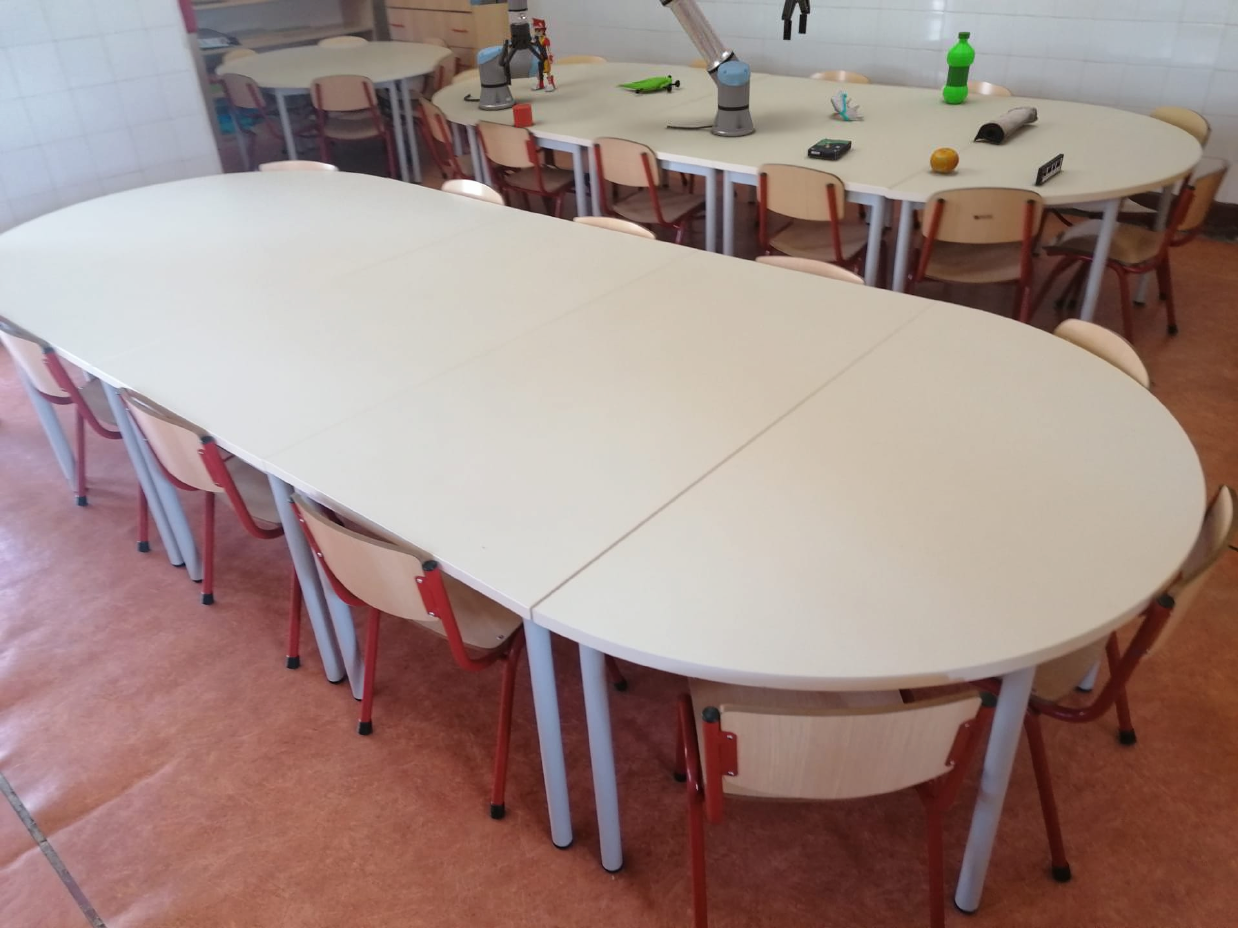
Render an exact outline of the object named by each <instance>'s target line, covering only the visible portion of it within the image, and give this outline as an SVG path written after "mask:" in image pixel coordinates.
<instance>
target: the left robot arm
mask: <svg viewBox="0 0 1238 928" xmlns="http://www.w3.org/2000/svg"><path fill="white" fill-rule="evenodd" d="M468 2H469V4H470V5H471V6H479V7H480V6H487V5H488V6H489V5H499V4H501V5H502V4H507V11H508V22H509V31H510V38H503V40H502V41H503V45H494V46H489V47H486V48H483V49H481V50H480V51H478V53H477V56H476V57H477V66H478V72H479V73H478V74H479V82H480V95H479V98H469V97H471V93H469V94H467V95H465V96H464V97H463V99H464V101H468V102H478V106H479V109H480V110H484V111H500V110H506V109H510V108H512V107H513V106H515V105H516V104H515V99H514V97H513V95H512V92H511V89H510V86H513V85H512V80H519V79H531V78H537V76H538V75H539V79H540V80H543V81H544V80H545V78H543V75H544V73H543V71H545V65H544V62H545V60H548V58H549V56H547V55H548V53H547V54H546V52H545V50H544V48H543V47H542V45H541V43H540V41H539V36H538V35H535V34H533V33H532V28H531V27H532V25H531V23H532V22H531V15H530V5H529V4H530V3H529V0H468ZM532 34H533V35H532ZM536 45H537V47H536ZM540 52H541V54H542V56H543V57H541V55H540Z"/></svg>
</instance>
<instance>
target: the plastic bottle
mask: <svg viewBox="0 0 1238 928" xmlns="http://www.w3.org/2000/svg"><path fill="white" fill-rule="evenodd" d="M970 36H971V32H970V31H959V32H958V36H957V39H958V42H957V43H956V44H954V45H953V46H952V47H951V48H950V49H949V50H948V52H947V54H946V63H947V64H948V69H947V70H948V71H947V76H946V77H947V78H946V84H945V85H944V87H943V90H942V97H943V99H944V100H945V101H946V102H947V103H948V104H960V103H961V102H963V101H964V100H966V98H967V96H968V95H969V85H968V79H969V73H970V67H971V65H972V64H973V63H974V61H975V57H976V51H975V49H974V47H972V45H971V44H970V43H969V42H968V41H969V39H970V38H971V37H970Z"/></svg>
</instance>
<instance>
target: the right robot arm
mask: <svg viewBox="0 0 1238 928" xmlns="http://www.w3.org/2000/svg"><path fill="white" fill-rule="evenodd" d="M658 1H659V2H660V3H661V5H662V7H663V8H667V9H670V10H671V12H672V13H673V15H674V16H675V17H674V18H676V20H677V21H678V22H679V24H680V26H681V27H682V29H683V30H684V31H685V33H686V35H687V36H688V37H689V39H690V40H691V42H692V44H693V45H694V46H695V48H696V50H697V51H698V52H699V54H700V56H701V57H702V59H703V60H704V61H705V63H706V72H707V73H708V75H709V76H710V78H711V79H712V81H713V82H714V84H715V85H716V88H717V111H716V114H715V118H714V120H713V124H710V125H703V126H702V125H701V126H675V125H666V128H667V129H674V130H675V129H677V130H701V129H703V130H704V129H709V128H712V133H713V134H715V135H717V136H721V137H741V136H746V135H750V134H752V133H754V122H753V118H752V115H751V111H750V94H751V93H750V90H751V77H752V76H751V75H752V73H751V67H750V65H749V64H748V63H746V62H743V61H740V59H739V58H738V56H737V55H736V53H735V52H734V51H733V49H731V48H727V47H726V46H725V44H724V43H723V42H722V39H720V36H719V35H718V34H717V33H716V30H715V29H714V28H713V26H712V24H711V23H710V22H709V20H708V19H707V17H706V16H705V14H704V12H703V11H702V9H701V8H700V6H699V4H698V3H697V2H696V0H658ZM797 4H798V8H799V10H800V14H799V18H798V19H799V20H798V32H797V33H798V35H799V34H800V35H806V34H807V26H808V25H807V24H808V15H810V14H811V1H810V0H785V1H784V5H783V9H782V13H781V18H780V19H781V21H783V33H782V40H783V41H791V40H792V29H793V28H792V24H793V20H792V17H793V15H794V12H795V9H796V5H797Z"/></svg>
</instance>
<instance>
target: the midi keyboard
mask: <svg viewBox="0 0 1238 928" xmlns="http://www.w3.org/2000/svg"><path fill="white" fill-rule="evenodd" d="M1064 157H1065V153H1059V154H1058V155H1056V156H1055V157H1052V159H1051V160H1049V161H1047V162H1045V164H1042V165H1041V166H1039V167H1038V169H1037V175H1036V179H1035V186H1040V185H1042V183H1044V182H1045V181H1047V180H1048V179H1049V178H1051V177H1052V176H1054V175H1055V174H1056V173H1058V172H1060V171H1061V170H1062V165H1063V161H1064Z"/></svg>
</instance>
